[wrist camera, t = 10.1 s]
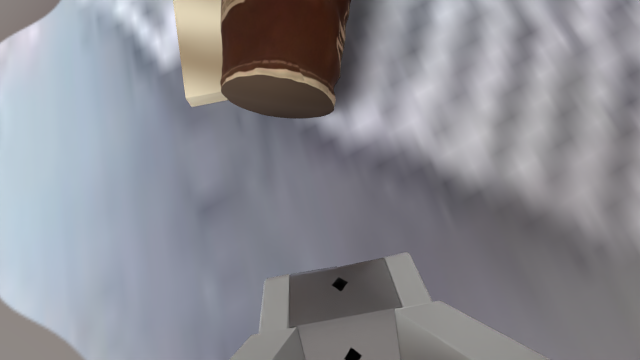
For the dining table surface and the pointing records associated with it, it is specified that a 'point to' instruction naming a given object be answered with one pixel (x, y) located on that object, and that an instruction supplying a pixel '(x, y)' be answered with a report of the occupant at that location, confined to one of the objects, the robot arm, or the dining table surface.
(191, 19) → the beech board
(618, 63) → the dining table surface
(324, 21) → the coffee cup
